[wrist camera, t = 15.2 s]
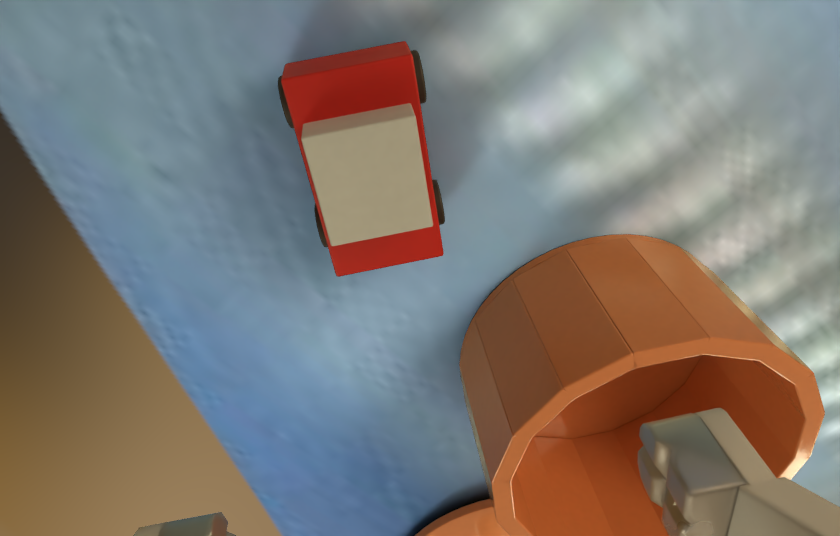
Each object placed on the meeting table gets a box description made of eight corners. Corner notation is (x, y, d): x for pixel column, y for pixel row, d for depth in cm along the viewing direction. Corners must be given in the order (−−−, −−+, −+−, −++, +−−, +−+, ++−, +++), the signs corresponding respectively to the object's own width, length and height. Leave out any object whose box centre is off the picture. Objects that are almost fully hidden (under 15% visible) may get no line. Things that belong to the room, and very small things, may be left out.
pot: (442, 266, 26) (477, 384, 20) (737, 207, 26) (862, 305, 20) (473, 460, 34) (505, 590, 27) (702, 412, 34) (786, 530, 28)
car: (276, 59, 21) (264, 93, 17) (412, 32, 21) (429, 62, 17) (327, 241, 25) (327, 299, 21) (441, 219, 25) (459, 273, 21)
